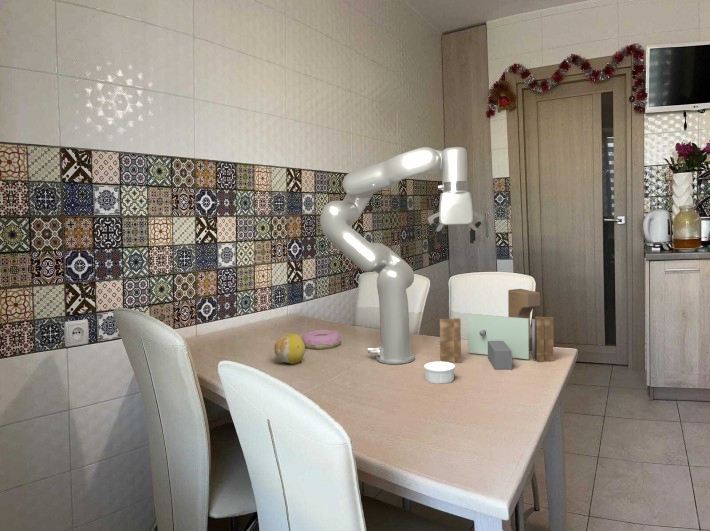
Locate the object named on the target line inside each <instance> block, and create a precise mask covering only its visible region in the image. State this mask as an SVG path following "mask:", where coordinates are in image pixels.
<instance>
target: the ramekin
mask: <svg viewBox="0 0 710 531" xmlns="http://www.w3.org/2000/svg"><path fill="white" fill-rule="evenodd" d="M423 368H424V372H425V373H424V374H425V379H426V381H427V382H428V383H430V384H434V385H435V384H436V385H446V384H451V383H452V382H453V381H454V380H455V379H454V378H455V369H456V365H455V363H449V362H441V360H440V361H431V362H427V363H425V364H424V365H423Z"/></svg>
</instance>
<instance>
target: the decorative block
mask: <svg viewBox="0 0 710 531" xmlns="http://www.w3.org/2000/svg"><path fill="white" fill-rule="evenodd" d="M507 293H508V295H507V296H508V297H507V298H508V299H507V300H508V301H507V303H508V306H507V308H508V311H507V312H508V314H507V315H508V316H507V317H515V318H529V352H532V323H531V313H532V311H533V309H535V308H537V307H541V293H540V292H539V291H534V290H528V289H525V288H524V289H523V288H514V289H509V290H507Z"/></svg>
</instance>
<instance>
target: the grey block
mask: <svg viewBox="0 0 710 531" xmlns="http://www.w3.org/2000/svg"><path fill="white" fill-rule="evenodd" d="M487 359H488V361H489V362H490V365H491V366H492V368H493V369H494V370H495V371H512V368H513V365H512V363H513V362H512V360H513V358H512V351H511V350H510V348H509V347H508V346H507V345H506V344H505V342H504V341H488V355H487Z"/></svg>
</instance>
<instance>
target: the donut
mask: <svg viewBox="0 0 710 531" xmlns="http://www.w3.org/2000/svg"><path fill="white" fill-rule="evenodd" d="M300 337H301V338H302V339H303V341H304V344H305V348H306V349H309V350H327V349H332V348H335V347H338V346H339V345H340V344H341V343H342V334H341V333H340V332H338V331H337V330H332V329H315V330H314V329H313V330H309V331H307V332H305V333H304V334H303V335H302V336H300Z"/></svg>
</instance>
